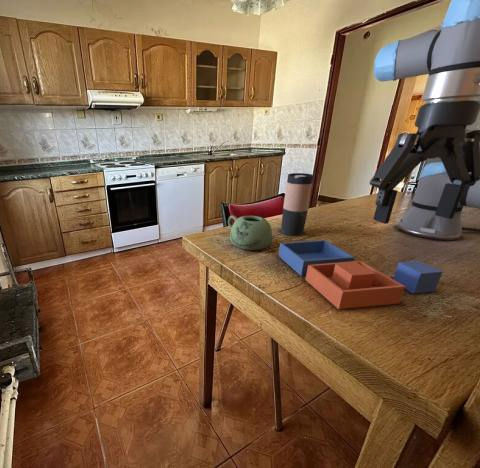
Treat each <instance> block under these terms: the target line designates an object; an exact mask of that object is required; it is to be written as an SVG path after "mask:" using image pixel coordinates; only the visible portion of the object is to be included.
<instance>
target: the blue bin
mask: <svg viewBox="0 0 480 468" xmlns="http://www.w3.org/2000/svg"><path fill="white" fill-rule="evenodd" d="M278 257H279V258H280V259H281V260H282V261H284V262H285V264H287V266H289V267H290V268H292V270H294V271H295V273H297V274H298V275H299V276H300V277H306V274H307V269H308V265H314V264H326V263H339V262H351V261H355V256H354V255H352V254H349V252H346V251H345V250H343V249H341V248H339V247H338V246H336V245H334V244H332V243H331V242H329V241H327V240H326V239H319V240H305V241H291V242H290V241H289V242H280V243H279V250H278Z"/></svg>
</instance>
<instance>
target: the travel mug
mask: <svg viewBox="0 0 480 468" xmlns="http://www.w3.org/2000/svg"><path fill="white" fill-rule="evenodd" d="M313 182H314V175H313V174H312V173H304V172H303V173H302V172H293V173H288V174H287V179H286V186H285V192H284V199H283V207H282V215H281V226H280V232H281V233H282V234H283V235H285V236H286V235H287V236H293V237H298V236H302V235H304V230H305V226H306V221H307V217H308V212H309V206H310V201H311V194H312V188H313Z"/></svg>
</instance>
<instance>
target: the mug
mask: <svg viewBox="0 0 480 468" xmlns="http://www.w3.org/2000/svg"><path fill="white" fill-rule="evenodd" d="M232 219H233V221H234V222H233V224H232ZM227 226H228V228H229V229H230V233H229V239H230V242H231V243H232V245H234V246H235V247H237V248H238V249H242V250H246V251H260V250H264V249H266V248H268V247H270V245H271V243H272V240H273V229H272V226H271V224H270V222H269V221H268V220H267V219H266V218H265V217H261V216H258V215H243V216H240V217H237V216H235V215H230V216H229V217H228V219H227Z"/></svg>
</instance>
